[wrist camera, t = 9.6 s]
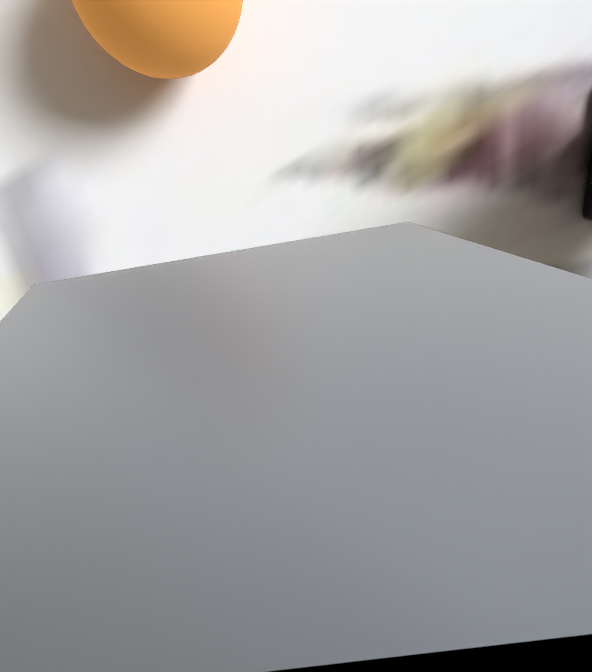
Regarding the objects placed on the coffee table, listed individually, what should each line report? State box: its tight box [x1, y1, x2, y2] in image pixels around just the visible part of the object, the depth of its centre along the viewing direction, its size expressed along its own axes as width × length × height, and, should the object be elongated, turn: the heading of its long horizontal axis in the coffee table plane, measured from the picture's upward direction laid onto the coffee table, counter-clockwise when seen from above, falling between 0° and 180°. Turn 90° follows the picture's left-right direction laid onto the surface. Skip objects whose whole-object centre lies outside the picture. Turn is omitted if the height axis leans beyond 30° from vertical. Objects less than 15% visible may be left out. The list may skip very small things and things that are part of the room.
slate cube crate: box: [0, 222, 592, 672], centre depth 7 cm, size 8×8×9 cm
